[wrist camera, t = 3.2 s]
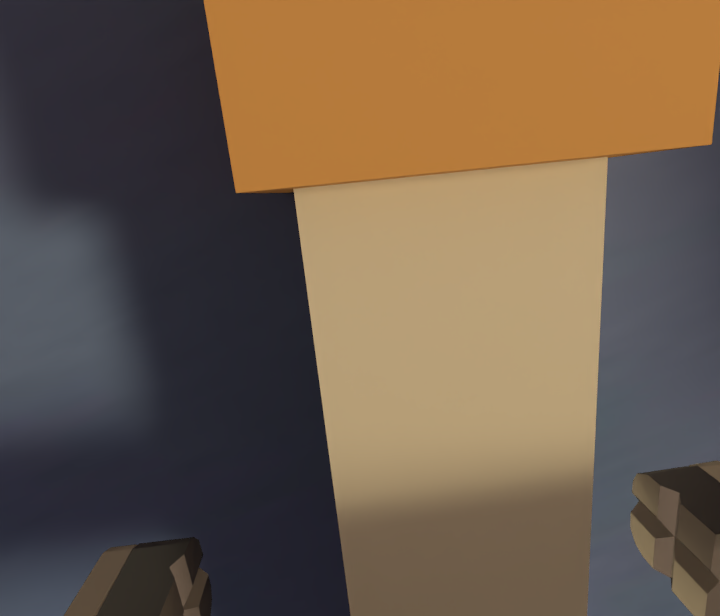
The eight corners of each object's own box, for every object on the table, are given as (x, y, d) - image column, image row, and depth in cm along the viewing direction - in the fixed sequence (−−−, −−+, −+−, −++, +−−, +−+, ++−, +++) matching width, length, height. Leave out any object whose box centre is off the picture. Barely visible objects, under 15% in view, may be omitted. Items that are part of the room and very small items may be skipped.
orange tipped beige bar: (520, 793, 15) (614, 1090, 10) (372, 816, 14) (392, 1129, 10) (515, -112, 8) (782, -552, 3) (246, -91, 8) (116, -523, 3)
